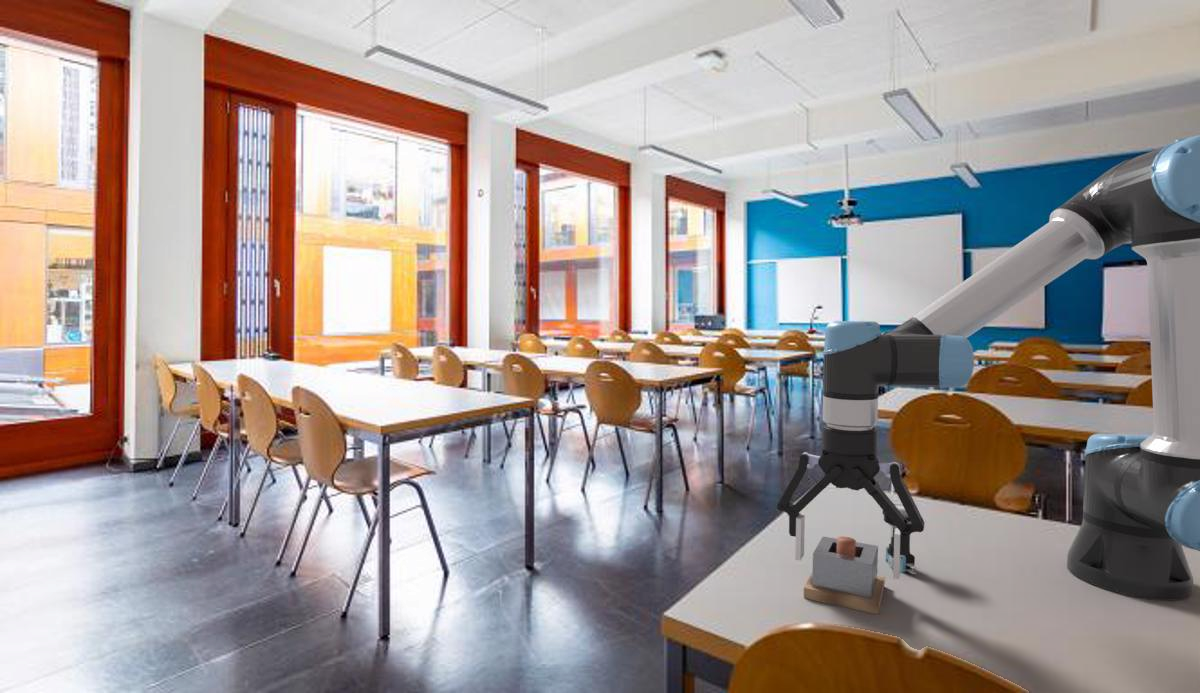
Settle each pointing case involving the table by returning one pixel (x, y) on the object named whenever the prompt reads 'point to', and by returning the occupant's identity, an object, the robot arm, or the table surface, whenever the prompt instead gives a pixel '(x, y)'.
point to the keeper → (869, 605)
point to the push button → (906, 561)
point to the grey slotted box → (845, 568)
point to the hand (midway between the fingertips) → (846, 566)
